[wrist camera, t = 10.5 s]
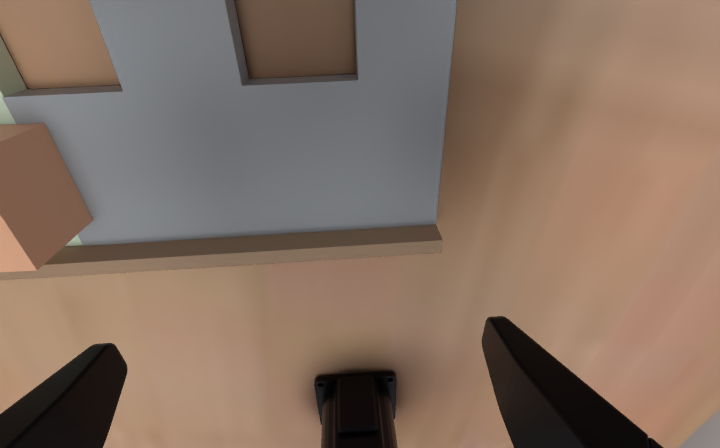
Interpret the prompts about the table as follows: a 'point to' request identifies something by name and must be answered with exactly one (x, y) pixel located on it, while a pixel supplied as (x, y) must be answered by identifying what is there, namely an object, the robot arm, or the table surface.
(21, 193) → the terracotta block
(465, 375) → the table surface
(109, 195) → the box
